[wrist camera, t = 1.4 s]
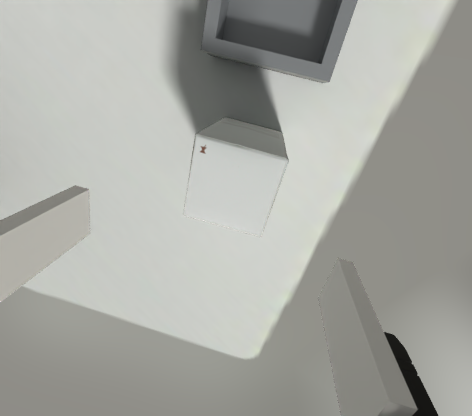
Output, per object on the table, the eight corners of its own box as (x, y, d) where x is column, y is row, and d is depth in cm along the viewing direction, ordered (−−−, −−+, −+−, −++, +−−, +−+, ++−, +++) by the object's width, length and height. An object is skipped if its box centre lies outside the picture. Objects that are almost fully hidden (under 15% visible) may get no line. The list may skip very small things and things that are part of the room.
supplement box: (211, 173, 34) (178, 216, 22) (224, 115, 30) (193, 129, 19) (266, 189, 34) (261, 240, 22) (285, 132, 30) (290, 157, 19)
